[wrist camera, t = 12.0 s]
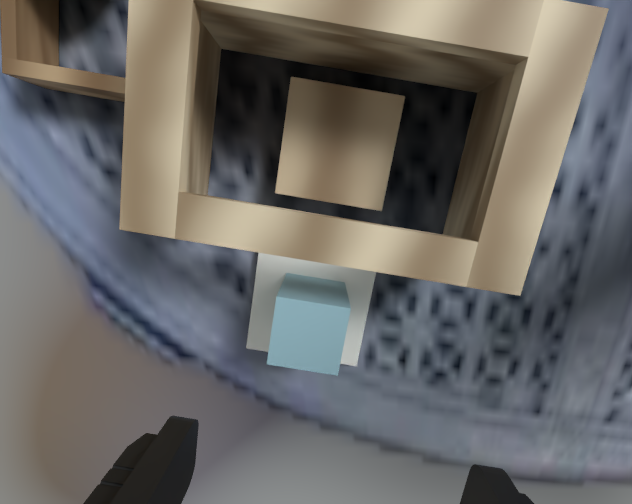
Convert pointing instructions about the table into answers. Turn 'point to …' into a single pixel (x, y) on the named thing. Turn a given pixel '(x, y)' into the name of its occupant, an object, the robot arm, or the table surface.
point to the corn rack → (46, 52)
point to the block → (309, 324)
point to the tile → (276, 268)
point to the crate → (359, 126)
